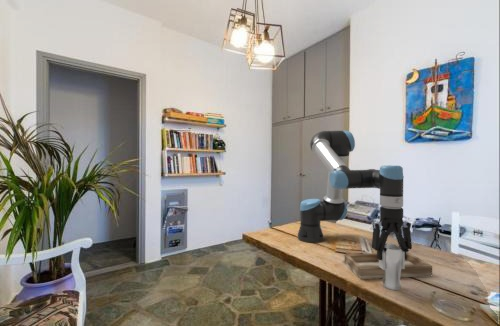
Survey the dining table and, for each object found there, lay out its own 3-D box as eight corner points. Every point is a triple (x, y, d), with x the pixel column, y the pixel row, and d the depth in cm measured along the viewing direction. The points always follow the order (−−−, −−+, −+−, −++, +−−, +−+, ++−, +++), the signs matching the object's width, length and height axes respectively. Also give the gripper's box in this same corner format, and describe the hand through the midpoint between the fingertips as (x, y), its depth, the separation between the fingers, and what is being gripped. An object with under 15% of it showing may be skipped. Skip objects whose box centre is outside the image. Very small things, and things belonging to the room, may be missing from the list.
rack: (344, 263, 110) (344, 254, 109) (407, 261, 111) (407, 252, 111) (360, 279, 96) (360, 268, 96) (432, 275, 97) (432, 265, 97)
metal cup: (390, 279, 95) (390, 242, 94) (407, 288, 88) (407, 248, 88) (377, 283, 92) (377, 244, 92) (393, 292, 86) (393, 251, 85)
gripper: (371, 209, 85) (371, 273, 86) (424, 208, 86) (424, 271, 87) (360, 205, 93) (361, 264, 93) (409, 204, 94) (409, 262, 94)
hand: (391, 267), depth 90 cm, fingers closed on metal cup, 7 cm apart
